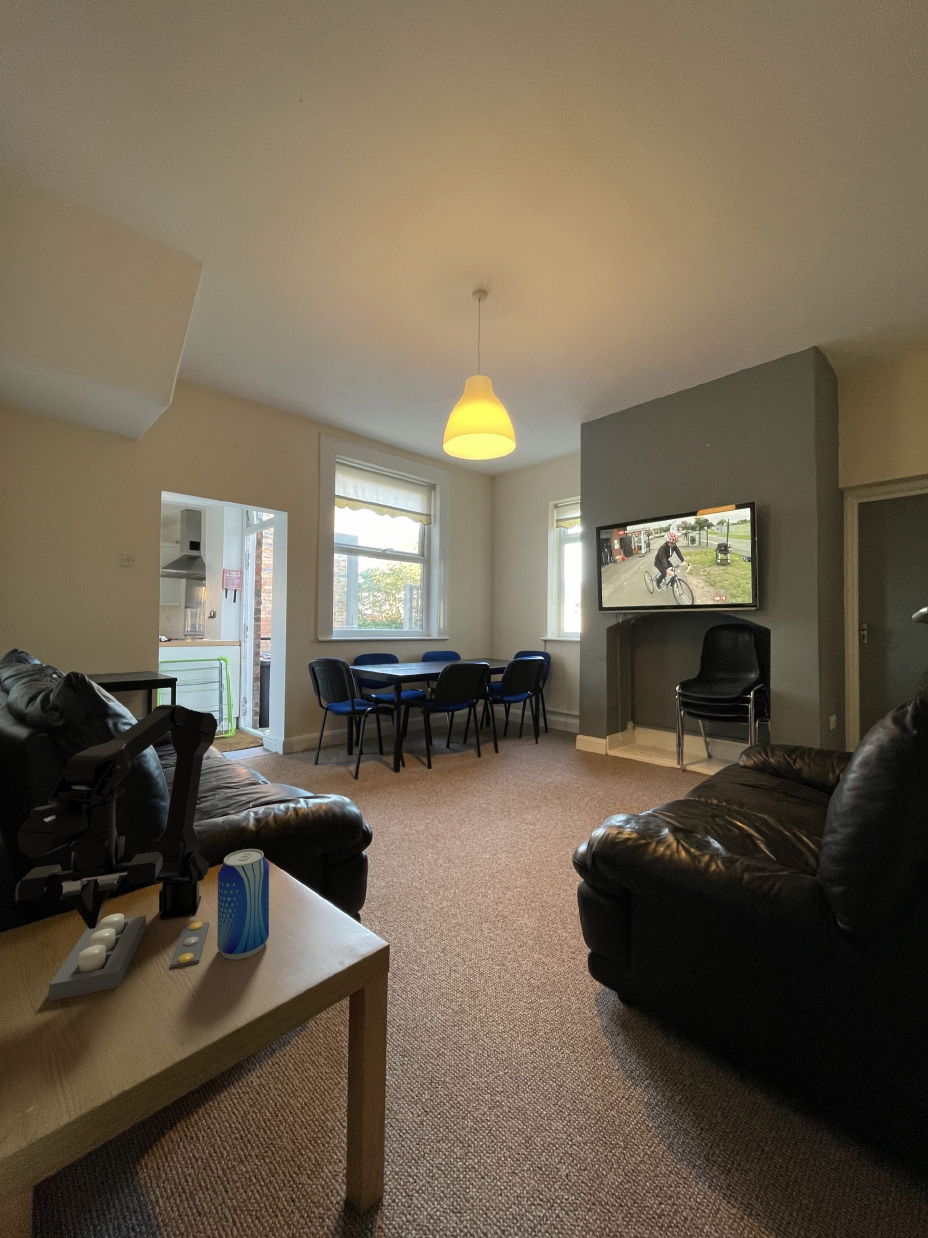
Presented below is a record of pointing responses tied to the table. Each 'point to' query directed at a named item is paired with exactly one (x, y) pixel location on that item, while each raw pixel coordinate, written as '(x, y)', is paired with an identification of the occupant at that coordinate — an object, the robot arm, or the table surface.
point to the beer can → (243, 904)
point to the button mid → (104, 939)
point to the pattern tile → (190, 944)
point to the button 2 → (113, 923)
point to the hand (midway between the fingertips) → (93, 927)
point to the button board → (107, 977)
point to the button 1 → (92, 959)
